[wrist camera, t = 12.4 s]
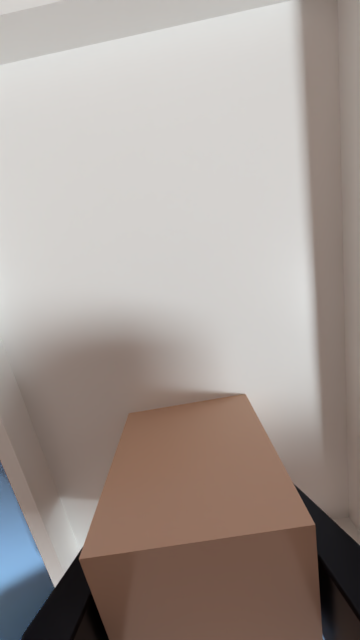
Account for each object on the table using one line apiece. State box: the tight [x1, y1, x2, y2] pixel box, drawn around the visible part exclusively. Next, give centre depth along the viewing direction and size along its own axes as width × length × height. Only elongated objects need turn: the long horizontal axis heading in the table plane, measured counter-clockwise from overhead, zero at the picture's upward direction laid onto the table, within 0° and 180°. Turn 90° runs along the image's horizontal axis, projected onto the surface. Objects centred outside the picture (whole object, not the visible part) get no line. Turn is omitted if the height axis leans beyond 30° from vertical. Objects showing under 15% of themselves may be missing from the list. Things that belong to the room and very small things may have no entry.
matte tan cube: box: [79, 394, 323, 640], centre depth 7 cm, size 4×4×4 cm
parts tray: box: [0, 0, 360, 587], centre depth 8 cm, size 13×19×2 cm
